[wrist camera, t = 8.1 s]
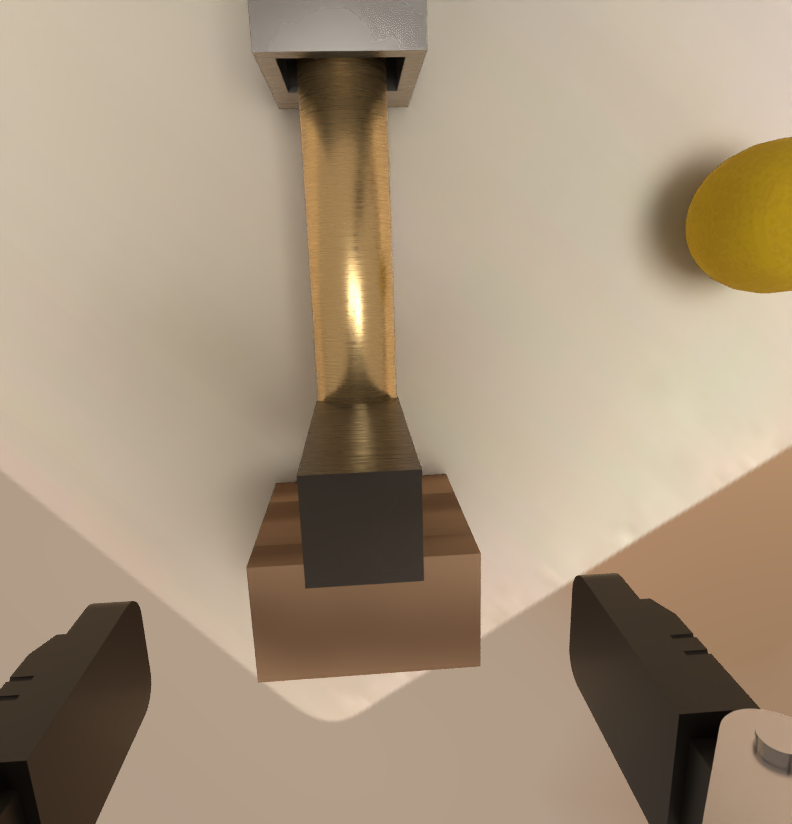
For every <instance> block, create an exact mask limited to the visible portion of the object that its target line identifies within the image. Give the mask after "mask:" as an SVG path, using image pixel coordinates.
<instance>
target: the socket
mask: <svg viewBox="0 0 792 824" xmlns="http://www.w3.org/2000/svg"><path fill="white" fill-rule="evenodd" d="M422 509H423V554H424V581H416V582H401V583H385V584H369V585H354V586H338V587H323V588H307V589H305V577H304V564H303V551H302V538H301V525H300V512H299V499H298V485H297V482H294V483H276V485H275V488H274V491H273V494H272V497H271V500H270V502H269V505H268V508H267V511H266V514H265V517H264V519H263V522H262V525H261V528H260V531H259V534H258V537H257V539H256V542H255V545H254V548H253V551H252V554H251V556H250V559H249V562H248V565H247V578H248V588H249V598H250V608H251V618H252V627H253V637H254V647H255V657H256V667H257V676H258V682H271V681H285V680H298V679H312V678H326V677H339V676H353V675H367V674H381V673H394V672H408V671H422V670H435V669H448V668H462V667H476V666H480V600H481V553H480V551H479V549H478V546H477V544H476V542H475V539H474V537H473V535H472V533H471V530H470V528H469V526H468V523H467V521H466V519H465V517H464V514H463V512H462V510H461V507H460V505H459V503H458V501H457V498H456V496H455V494H454V491H453V489H452V487H451V485H450V482H449V480H448V478H447V475H446V474H443V475H425V476H422Z"/></svg>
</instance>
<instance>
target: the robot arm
mask: <svg viewBox="0 0 792 824" xmlns="http://www.w3.org/2000/svg"><path fill="white" fill-rule="evenodd" d="M569 647H570V649H569V651H570V661H571V667H572V672H573V675H574V678H575V681H576V683H577V686H578V687H579V690H580V691H581V693H582V695H583V697H584V699H585V701H586V703H587V705H588V707H589V709H590V711H591V713H592V714H593V717H594V718H595V720H596V722H597V724H598V726H599V728H600V730H601V732H602V734H603V736H604V738H605V740H606V742H607V744H608V746H609V747H610V749H611V751H612V753H613V755H614V757H615V759H616V761H617V763H618V765H619V767H620V769H621V770H622V773H623V774H624V776H625V778H626V780H627V782H628V784H629V786H630V788H631V790H632V792H633V794H634V796H635V798H636V800H637V801H638V803H639V805H640V807H641V809H642V811H643V813H644V815H645V817H646V819H647V821H648V823H649V824H792V718H791V717H788V716H785V715H783V714H779V713H776V712H773V711H768V710H762V709H760V708H759V707H758V706H757V704H755V702H754V701H753V700H752V699H751V698H750V697H749V696H748V694H746V692H745V691H744V690H743V689H742V688H741V687H740V686H739V684H738V683H737V682H736V681H735V680H734V679H733V678H732V677H731V675H730V674H729V673H728V672H727V671H726V670H725V669H724V668H723V666H721V664H720V663H719V662H718V661H717V660H716V659H715V658H714V656H713V655H712V654H708V652H707V649H706V648H705V646H704V645H703V644H702V643H701V642H700V641H699V640H698V639H697V638H696V637H693V633H692V632H691V631H690V630H689V629H688V627H687V626H686V625H684V623H683V622H682V621H681V620H680V618H679V617H678V616H677V615H676V614H674V613H673V612H671V611H670V610H668V609H666V608H664V607H663V606H661V605H660V604H658V603H656V602H655V601H653V600H651V599H639V597H638V596H637V595H636V594H635V593H634V591H633V590H632V589H631V588H630V587H629V585H628V584H627V583H626V582H625V581H624V579H623V578H622V577H621V576H620V575H619V574H617V573H611V574H594V575H578V576H576V577H575V579H574V582H573V589H572V608H571V627H570V646H569ZM150 693H151V673H150V666H149V660H148V653H147V647H146V640H145V634H144V628H143V621H142V615H141V610H140V607H139V605H138V604H137V602H134V601H130V602H113V603H96V604H90V605H89V606H88V607H87V608H86V609H85V610H84V612H83V613H82V614H81V616H80V617H79V618H78V620H77V621H76V622H75V623H74V625H73V626H72V627H71V629H70V630H69V631H68V633H67V634H62V635H56V636H54V637H53V638H51V639H50V640H49V641H47V642H46V643H44V644H43V645H42V646H40V647H39V648H37V649H36V650H35V651H33V652H32V653H30V654H29V655H28V656H27V657H26V658H25V660H24V661H23V662H22V663H21V665H20V666H19V667H18V668H17V669H16V671H15V672H14V673H13V674H12V676H11V677H10V681H9V682H6V683H5V684H4V685H3V687H2V688H1V689H0V824H95V823H96V821H97V819H98V817H99V814H100V812H101V810H102V808H103V806H104V803H105V801H106V799H107V797H108V795H109V792H110V790H111V788H112V786H113V784H114V782H115V779H116V777H117V775H118V773H119V771H120V768H121V766H122V764H123V762H124V760H125V757H126V755H127V753H128V751H129V749H130V747H131V744H132V742H133V740H134V738H135V736H136V734H137V731H138V729H139V727H140V725H141V722H142V720H143V718H144V716H145V714H146V711H147V708H148V704H149V700H150Z"/></svg>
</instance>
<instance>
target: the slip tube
mask: <svg viewBox="0 0 792 824" xmlns="http://www.w3.org/2000/svg"><path fill="white" fill-rule="evenodd" d="M296 65H297V80H298V96H299V111H300V127H301V142H302V158H303V173H304V188H305V204H306V219H307V235H308V250H309V266H310V281H311V297H312V312H313V327H314V343H315V358H316V374H317V389H318V401H317V402H316V406H315V410H314V413H313V417H312V421H311V425H310V428H309V432H308V436H307V440H306V443H305V447H304V451H303V455H302V458H301V462H300V466H299V469H298V473H297V485H298V499H299V512H300V525H301V538H302V551H303V564H304V577H305V589H307V588H323V587H338V586H354V585H369V584H385V583H401V582H416V581H424V554H423V509H422V469H421V466H420V463H419V460H418V457H417V454H416V451H415V448H414V445H413V442H412V439H411V436H410V433H409V430H408V427H407V424H406V420H405V417H404V414H403V411H402V408H401V405H400V402H399V399H398V397H397V396H396V364H395V333H394V302H393V271H392V239H391V208H390V177H389V146H388V114H387V83H386V57H354V58H296Z"/></svg>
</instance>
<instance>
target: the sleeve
mask: <svg viewBox="0 0 792 824" xmlns="http://www.w3.org/2000/svg"><path fill="white" fill-rule="evenodd" d="M248 8H249V20H250V33H251V45H252V53H253V55H254V57H255V59H256V61H257V63H258V65H259V67H260V70H261V72H262V74H263V76H264V78H265V80H266V82H267V84H268V86H269V88H270V90H271V92H272V95H273V97H274V99H275V101H276V103H277V105H278V107H279V109H295V108H299V96H298V80H297V65H296V58H354V57H386V83H387V107H408V104H409V101H410V98H411V96H412V93H413V90H414V87H415V84H416V81H417V78H418V75H419V72H420V69H421V67H422V64H423V61H424V58H425V55H426V52H427V5H426V0H248Z"/></svg>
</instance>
